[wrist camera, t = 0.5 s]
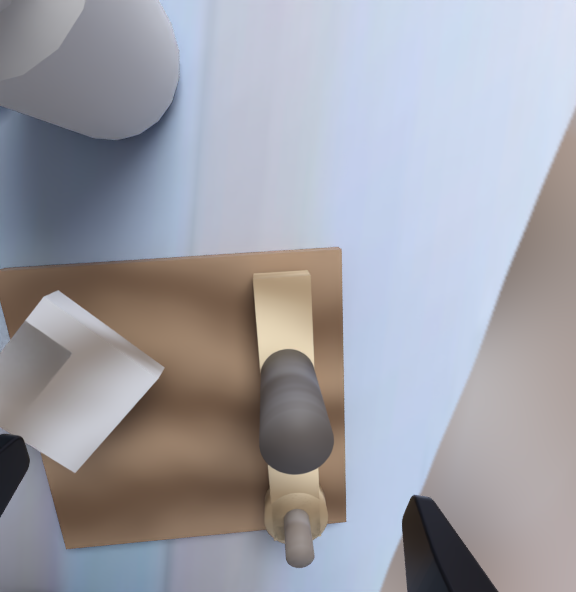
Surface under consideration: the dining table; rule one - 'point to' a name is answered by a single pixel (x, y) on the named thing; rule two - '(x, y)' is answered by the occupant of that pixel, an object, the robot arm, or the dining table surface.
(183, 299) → the keeper board
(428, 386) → the dining table surface
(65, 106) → the can
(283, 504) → the lever
